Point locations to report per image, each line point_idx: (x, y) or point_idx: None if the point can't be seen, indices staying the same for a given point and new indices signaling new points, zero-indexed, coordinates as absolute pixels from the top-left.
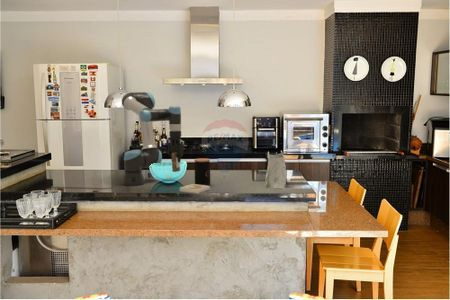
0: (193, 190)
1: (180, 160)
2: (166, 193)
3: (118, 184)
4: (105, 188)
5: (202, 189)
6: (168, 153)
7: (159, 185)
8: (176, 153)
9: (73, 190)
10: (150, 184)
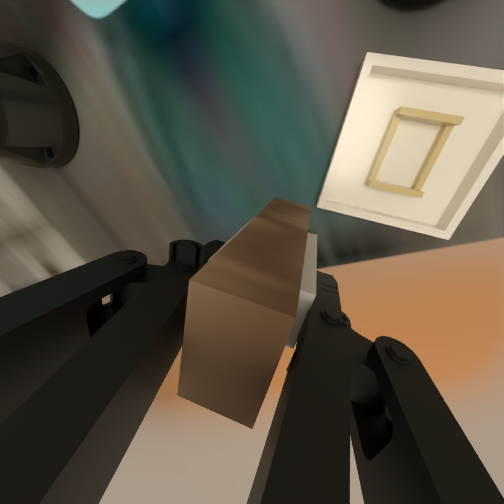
0: (414, 230)
1: (337, 290)
2: None
3: None
4: (39, 229)
5: (477, 186)
6: (96, 319)
7: (150, 95)
8: (264, 394)
9: (7, 273)
10: (100, 90)
